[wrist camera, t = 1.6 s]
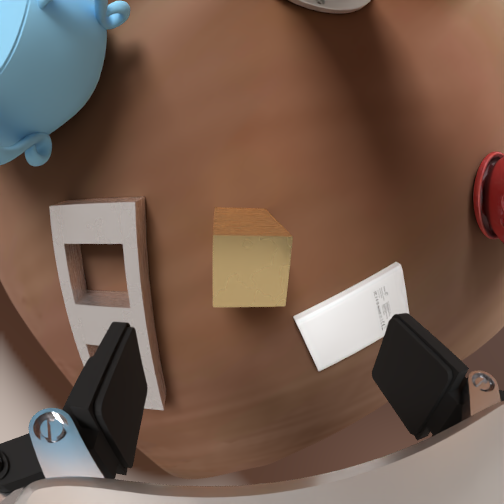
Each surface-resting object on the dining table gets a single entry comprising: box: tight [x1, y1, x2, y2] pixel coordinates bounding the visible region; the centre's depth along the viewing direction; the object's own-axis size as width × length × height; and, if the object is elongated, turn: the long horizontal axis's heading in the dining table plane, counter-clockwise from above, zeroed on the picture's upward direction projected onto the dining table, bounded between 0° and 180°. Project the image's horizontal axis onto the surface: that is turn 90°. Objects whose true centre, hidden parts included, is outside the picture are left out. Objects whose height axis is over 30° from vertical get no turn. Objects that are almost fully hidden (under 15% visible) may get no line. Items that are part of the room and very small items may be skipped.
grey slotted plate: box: [49, 197, 167, 410], centre depth 23 cm, size 22×8×3 cm, turn 177°
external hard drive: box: [293, 262, 409, 371], centre depth 28 cm, size 2×8×12 cm
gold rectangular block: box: [213, 207, 293, 307], centre depth 19 cm, size 4×4×9 cm
